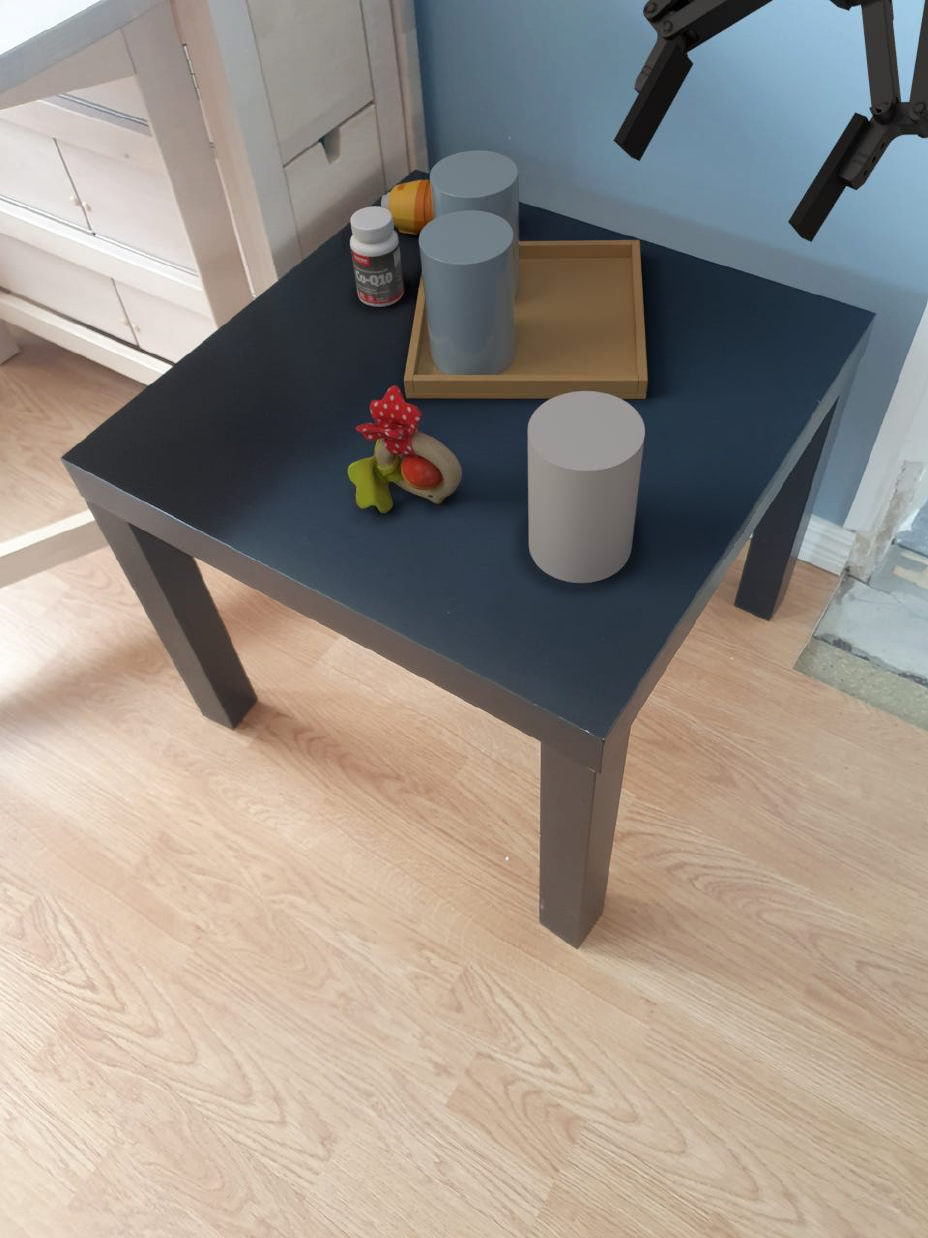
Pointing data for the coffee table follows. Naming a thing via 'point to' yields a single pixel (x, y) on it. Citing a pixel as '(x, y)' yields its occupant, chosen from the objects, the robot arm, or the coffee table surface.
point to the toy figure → (410, 206)
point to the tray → (557, 328)
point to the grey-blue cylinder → (479, 190)
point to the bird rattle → (424, 457)
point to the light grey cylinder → (583, 484)
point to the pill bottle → (376, 257)
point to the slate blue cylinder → (469, 292)
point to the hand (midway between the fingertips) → (708, 190)
